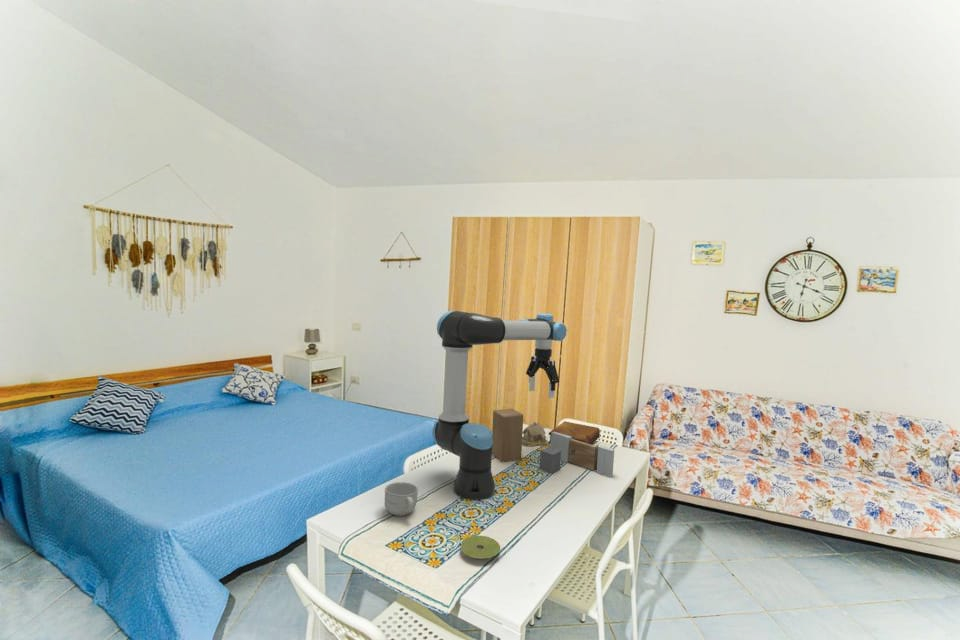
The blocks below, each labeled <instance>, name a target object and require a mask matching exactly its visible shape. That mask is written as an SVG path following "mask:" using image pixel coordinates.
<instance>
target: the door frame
mask: <svg viewBox="0 0 960 640" xmlns="http://www.w3.org/2000/svg"><path fill="white" fill-rule="evenodd" d="M550 432H551V431H550ZM570 439H572V437H571V436H568V435H564V434H561V433H557V432H551V444H550V448H553V449H556V450H559V451H561V460H560V462H564V463H567V464H568V463H570V462H569V447H570ZM614 457H615V449H613V448H611V447H608V446H607V447H606V446H604V445H598V458H597V471H596V474H598V475H601V476H605V477H609V478H611V477H613V475H614V474H613V473H614V462H615V458H614Z"/></svg>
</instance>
